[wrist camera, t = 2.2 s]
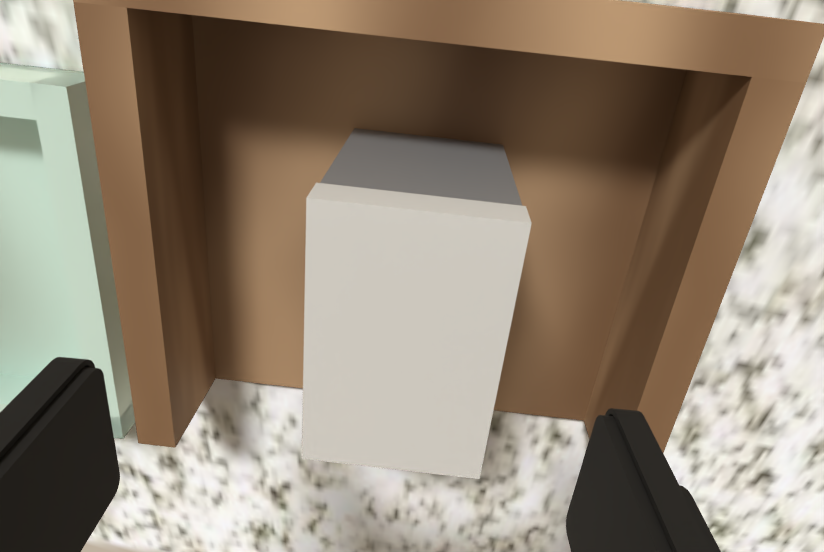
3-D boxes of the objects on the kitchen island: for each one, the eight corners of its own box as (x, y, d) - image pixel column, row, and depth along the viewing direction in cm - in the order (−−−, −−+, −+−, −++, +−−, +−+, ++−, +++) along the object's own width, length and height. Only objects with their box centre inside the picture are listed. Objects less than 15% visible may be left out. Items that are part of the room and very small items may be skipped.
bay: (744, 14, 16) (828, 24, 13) (613, 418, 23) (644, 501, 19) (148, -52, 16) (64, -60, 13) (187, 369, 23) (138, 442, 19)
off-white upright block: (504, 143, 18) (531, 222, 12) (471, 340, 21) (479, 479, 15) (352, 126, 18) (306, 197, 12) (342, 326, 21) (301, 458, 15)
